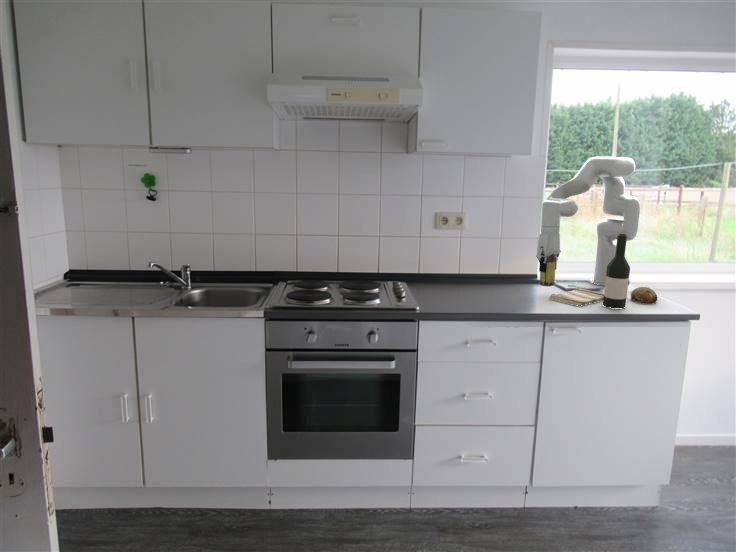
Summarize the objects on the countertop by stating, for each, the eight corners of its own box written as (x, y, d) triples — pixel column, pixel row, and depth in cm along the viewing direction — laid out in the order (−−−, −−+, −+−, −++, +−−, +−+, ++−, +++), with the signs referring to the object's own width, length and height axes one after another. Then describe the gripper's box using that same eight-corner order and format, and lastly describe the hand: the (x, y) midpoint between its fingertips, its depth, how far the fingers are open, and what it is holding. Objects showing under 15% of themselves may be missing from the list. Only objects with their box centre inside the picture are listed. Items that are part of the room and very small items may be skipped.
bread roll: (627, 307, 219) (623, 291, 217) (643, 295, 222) (640, 279, 219) (647, 313, 211) (643, 297, 208) (664, 300, 213) (660, 284, 210)
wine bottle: (630, 308, 204) (639, 234, 197) (612, 310, 202) (621, 235, 195) (614, 303, 212) (623, 231, 205) (598, 304, 210) (606, 232, 203)
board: (579, 292, 229) (580, 287, 229) (609, 298, 218) (609, 294, 218) (549, 299, 217) (550, 294, 217) (579, 306, 206) (579, 302, 206)
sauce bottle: (556, 284, 223) (559, 239, 218) (552, 287, 218) (555, 242, 213) (541, 282, 227) (544, 238, 222) (537, 285, 222) (539, 240, 217)
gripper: (555, 226, 224) (552, 266, 229) (530, 230, 215) (527, 272, 219) (570, 228, 218) (567, 269, 223) (545, 232, 209) (542, 275, 213)
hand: (547, 270), depth 221 cm, fingers closed on sauce bottle, 6 cm apart
